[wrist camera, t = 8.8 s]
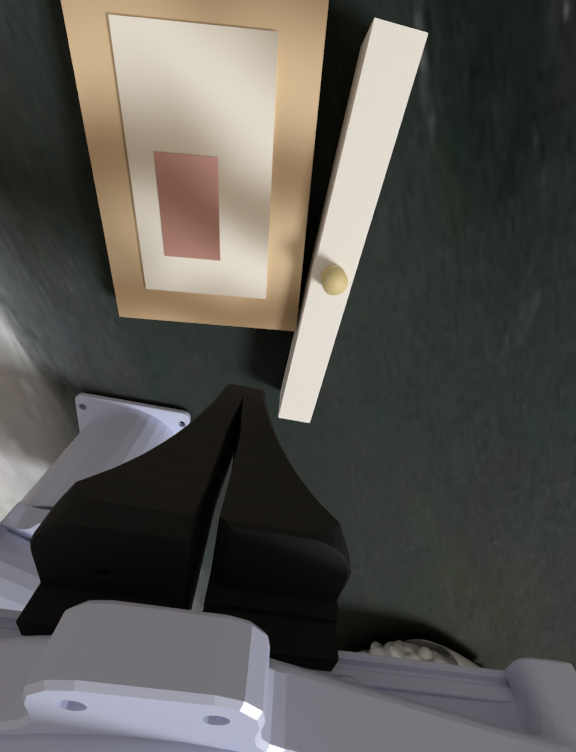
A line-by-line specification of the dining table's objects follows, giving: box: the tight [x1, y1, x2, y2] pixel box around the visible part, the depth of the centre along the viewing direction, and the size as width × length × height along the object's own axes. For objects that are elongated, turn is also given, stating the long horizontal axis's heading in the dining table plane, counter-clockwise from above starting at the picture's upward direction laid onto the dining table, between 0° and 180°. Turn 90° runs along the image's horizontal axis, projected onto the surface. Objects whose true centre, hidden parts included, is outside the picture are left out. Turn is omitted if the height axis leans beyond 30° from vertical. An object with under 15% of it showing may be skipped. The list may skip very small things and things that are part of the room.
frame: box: [61, 0, 329, 331], centre depth 16 cm, size 14×10×3 cm
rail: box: [278, 18, 428, 423], centre depth 17 cm, size 18×2×4 cm, turn 168°
